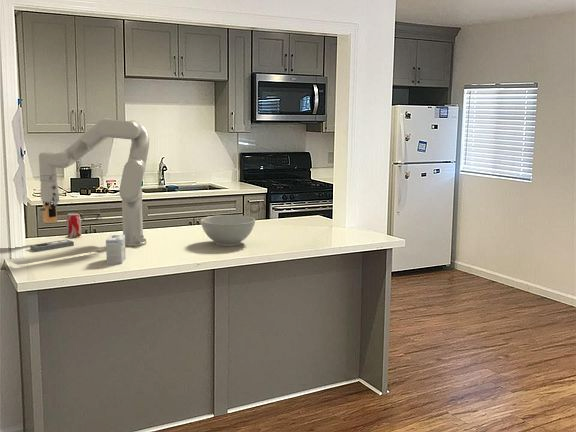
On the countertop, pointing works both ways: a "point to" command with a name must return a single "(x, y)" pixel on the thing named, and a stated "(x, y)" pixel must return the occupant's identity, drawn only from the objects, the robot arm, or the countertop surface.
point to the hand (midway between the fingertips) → (50, 215)
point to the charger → (46, 215)
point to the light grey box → (115, 249)
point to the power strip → (51, 245)
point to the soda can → (73, 225)
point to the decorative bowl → (228, 228)
